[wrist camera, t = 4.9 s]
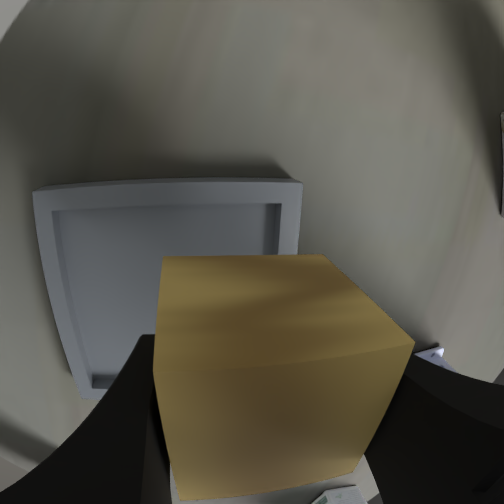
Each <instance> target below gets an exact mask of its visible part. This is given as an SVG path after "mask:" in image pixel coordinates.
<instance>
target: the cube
mask: <svg viewBox="0 0 504 504" xmlns="http://www.w3.org/2000/svg"><path fill="white" fill-rule="evenodd" d="M414 345H415V341H414V340H413V339H412V338H411V337H410V336H409V335H408V334H407V333H406V332H405V331H404V330H403V329H402V328H400V327H399V326H398V325H397V324H396V323H395V322H394V321H393V320H392V319H391V318H390V317H389V316H388V315H387V314H386V313H385V312H384V311H383V310H382V309H381V308H380V307H379V306H378V305H377V304H376V303H375V302H373V301H372V300H371V299H370V298H369V297H368V296H367V295H366V294H365V293H364V292H363V291H362V290H361V289H360V288H359V287H358V286H357V285H355V284H354V283H353V282H352V281H351V280H350V279H349V278H348V277H347V276H346V275H345V274H344V273H343V272H341V271H340V270H339V269H338V268H337V267H336V266H335V265H334V264H333V263H332V262H331V261H329V260H328V259H327V258H326V257H325V256H324V255H323V254H304V255H224V256H163V261H162V269H161V278H160V287H159V297H158V307H157V319H156V331H155V345H154V361H153V376H154V382H155V388H156V394H157V400H158V405H159V411H160V416H161V421H162V427H163V431H164V436H165V441H166V446H167V450H168V455H169V459H170V463H171V467H172V471H173V476H174V480H175V483H176V487H177V491H178V495H179V498H180V501H182V500H204V499H217V498H228V497H237V496H245V495H253V494H260V493H266V492H272V491H278V490H283V489H288V488H293V487H298V486H302V485H307V484H311V483H315V482H319V481H323V480H327V479H331V478H335V477H338V476H342V475H345V474H349V473H352V472H353V471H354V469H355V468H356V466H357V464H358V463H359V461H360V459H361V457H362V456H363V454H364V452H365V450H366V449H367V447H368V445H369V443H370V441H371V439H372V438H373V436H374V434H375V432H376V430H377V428H378V426H379V424H380V422H381V420H382V418H383V416H384V414H385V412H386V410H387V408H388V406H389V404H390V402H391V400H392V397H393V395H394V393H395V391H396V389H397V386H398V384H399V382H400V379H401V377H402V375H403V372H404V370H405V368H406V365H407V363H408V360H409V358H410V355H411V353H412V350H413V347H414Z"/></svg>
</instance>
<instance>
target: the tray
mask: <svg viewBox="0 0 504 504" xmlns="http://www.w3.org/2000/svg"><path fill="white" fill-rule="evenodd" d="M302 193H303V183H302V182H299V181H297V180H295V179H289V178H245V177H201V178H158V179H134V180H115V181H100V182H86V183H74V184H62V185H52V186H43V187H41V188H39V189H37V190H35V191H33V192H32V197H33V207H34V215H35V223H36V231H37V237H38V244H39V250H40V255H41V261H42V266H43V271H44V276H45V281H46V285H47V290H48V294H49V298H50V302H51V306H52V310H53V314H54V318H55V321H56V325H57V328H58V332H59V335H60V338H61V342H62V345H63V348H64V351H65V354H66V357H67V360H68V363H69V366H70V369H71V372H72V375H73V377H74V380H75V383H76V385H77V388H78V390H79V393H80V396H81V398H82V399H96V400H101V398H102V397H103V396H104V394H105V393H106V392H107V390H108V389H109V387H110V386H111V385H112V383H113V382H114V380H115V379H116V377H117V375H118V374H119V372H120V371H121V369H122V368H123V366H124V364H125V363H126V361H127V359H128V358H129V356H130V354H131V352H132V351H133V349H134V347H135V345H136V343H137V341H138V339H139V337H140V336H141V335H142V334H155V331H156V319H157V307H158V297H159V287H160V278H161V269H162V261H163V256H224V255H297V250H298V239H299V229H300V217H301V206H302Z"/></svg>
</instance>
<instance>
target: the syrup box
mask: <svg viewBox="0 0 504 504" xmlns="http://www.w3.org/2000/svg"><path fill="white" fill-rule="evenodd" d="M311 504H367V502H366V500H365V498H364V496H363V495H362V493H361V491H360V489H359V487H358V486H349V487H342V488H337V489H331V490H325V491H324V492H323V494H322V495H321V496H320V497H318V498H317V499H316V500H315V501H314V502H313V503H311Z"/></svg>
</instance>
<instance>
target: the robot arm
mask: <svg viewBox="0 0 504 504" xmlns="http://www.w3.org/2000/svg"><path fill="white" fill-rule="evenodd" d="M154 345H155V334H142V335H141V336H140V337H139V339H138V341H137V343H136V345H135V347H134V349H133V351H132V352H131V354H130V356H129V358H128V359H127V361H126V363H125V364H124V366H123V368H122V369H121V371H120V372H119V374H118V375H117V377H116V379H115V380H114V382H113V383H112V385H111V386H110V387H109V389H108V390H107V392H106V393H105V394H104V396H103V397H102V398H101V400H100V401H99V403H98V404H97V405H96V407H95V408H94V409H93V410H92V412H91V413H90V414H89V415H88V417H87V418H86V419H85V420H84V421H83V422H82V423H81V425H80V426H79V427H78V428H77V429H76V430H75V431H74V432H73V433H72V434H71V435H70V436H69V437H68V438H67V439H66V440H65V441H64V442H63V443H62V445H61V446H60V447H59V448H57V449H56V450H55V451H54V452H53V453H52V454H51V455H50V456H49V457H48V458H46V459H45V460H44V461H43V462H41V463H40V464H39V465H38V466H37V467H35V468H34V469H33V470H32V471H30V472H29V473H28V474H27V475H25V476H24V477H23V478H21V479H20V480H19V481H17V482H16V483H14V484H13V485H11V486H10V487H8V488H6V489H5V490H3V491H2V492H0V504H172V500H171V491H170V459H169V455H168V450H167V446H166V441H165V436H164V431H163V427H162V421H161V416H160V411H159V405H158V400H157V394H156V388H155V382H154V376H153V361H154ZM443 352H444V348H443V347H441V346H439V347H436V348H433V349H429V350H426V351H422V352H419V353H415V354H413V353H411V355H410V358H409V360H408V363H407V365H406V368H405V370H404V372H403V375H402V377H401V379H400V382H399V384H398V386H397V389H396V391H395V393H394V395H393V397H392V400H391V402H390V404H389V406H388V408H387V410H386V412H385V414H384V416H383V418H382V420H381V422H380V424H379V426H378V428H377V430H376V432H375V434H374V436H373V438H372V439H371V441H370V443H369V445H368V447H367V449H366V450H365V452H364V455H365V457H366V460H367V462H368V464H369V467H370V469H371V471H372V474H373V476H374V479H375V481H376V484H377V487H378V489H379V492H380V495H381V498H382V500H383V504H504V386H503V385H498V384H493V383H489V382H485V381H482V380H478V379H474V378H471V377H468V376H464V375H461V374H459V373H457V372H456V371H455V370H454V369H453V368H452V367H451V366H450V365H449V364H448V363H447V362H446V361H445V360H444V359H443V358H442V354H443Z"/></svg>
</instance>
